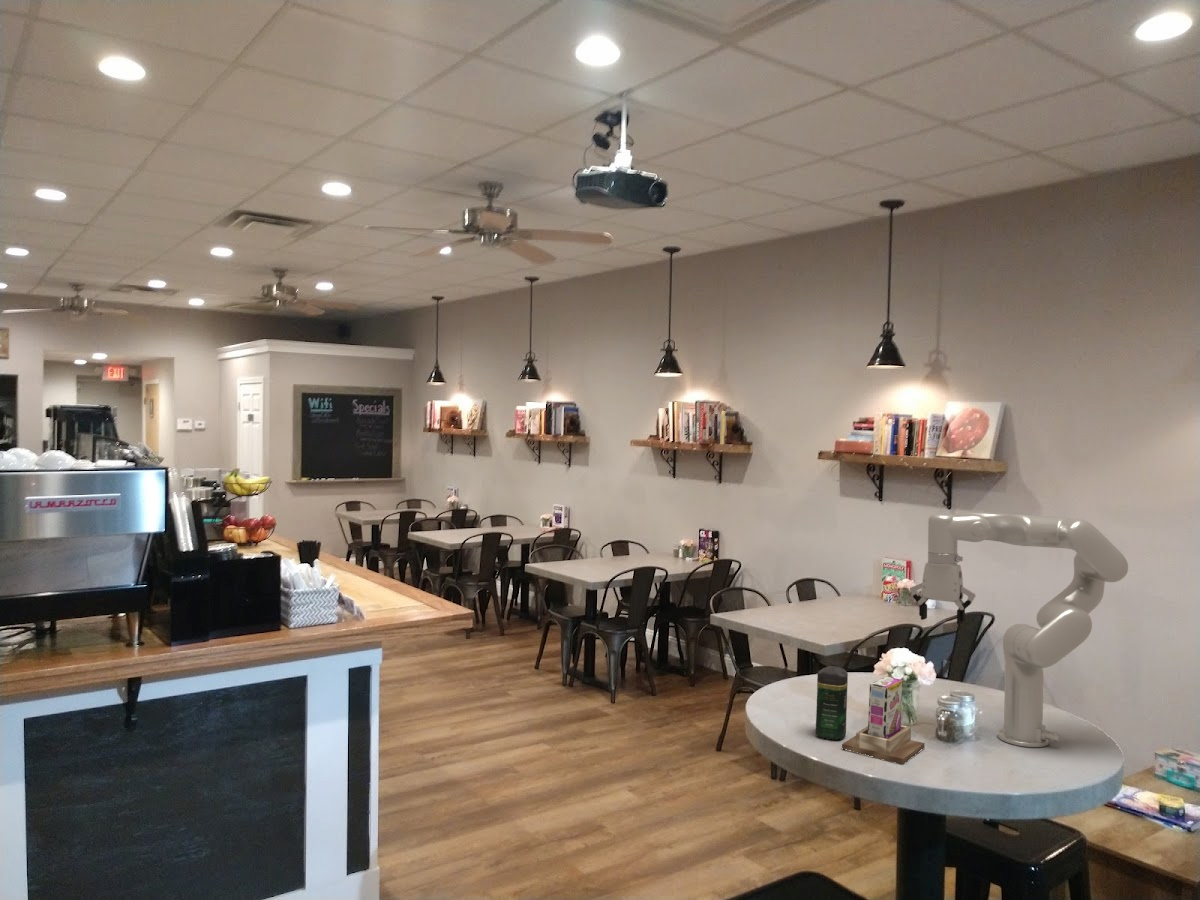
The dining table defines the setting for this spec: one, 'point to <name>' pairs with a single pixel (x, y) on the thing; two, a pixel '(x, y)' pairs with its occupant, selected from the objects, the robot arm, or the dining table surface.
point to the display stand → (885, 745)
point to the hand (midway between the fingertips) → (941, 621)
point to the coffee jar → (831, 702)
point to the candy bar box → (885, 707)
